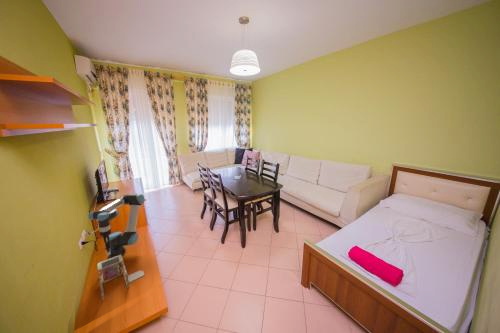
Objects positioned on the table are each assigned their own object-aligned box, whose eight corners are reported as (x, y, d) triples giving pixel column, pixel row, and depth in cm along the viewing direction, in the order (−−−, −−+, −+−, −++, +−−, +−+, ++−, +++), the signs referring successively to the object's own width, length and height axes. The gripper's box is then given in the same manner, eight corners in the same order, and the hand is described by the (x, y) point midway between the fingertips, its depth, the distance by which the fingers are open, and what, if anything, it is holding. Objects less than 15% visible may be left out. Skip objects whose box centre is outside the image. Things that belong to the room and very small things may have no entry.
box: (104, 279, 157) (102, 267, 155) (106, 275, 162) (104, 263, 160) (118, 275, 161) (117, 264, 159) (119, 271, 166) (118, 260, 164)
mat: (127, 276, 160) (127, 276, 160) (142, 269, 168) (142, 269, 168) (129, 282, 153) (128, 282, 153) (144, 275, 161) (144, 274, 161)
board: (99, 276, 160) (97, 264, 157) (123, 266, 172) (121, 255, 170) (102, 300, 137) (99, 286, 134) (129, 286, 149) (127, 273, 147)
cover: (97, 264, 157) (96, 259, 156) (121, 255, 169) (120, 250, 168) (98, 271, 149) (97, 266, 148) (123, 261, 161) (122, 256, 160)
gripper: (99, 229, 156) (102, 253, 159) (100, 234, 146) (104, 260, 150) (109, 226, 161) (113, 249, 165) (111, 231, 151) (115, 256, 155)
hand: (108, 254), depth 157 cm, fingers closed
